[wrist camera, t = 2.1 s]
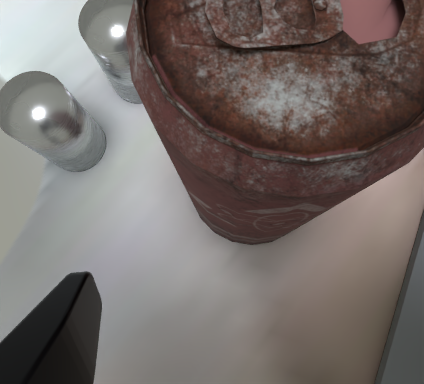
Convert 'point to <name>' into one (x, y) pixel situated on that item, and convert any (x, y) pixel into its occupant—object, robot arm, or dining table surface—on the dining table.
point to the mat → (407, 325)
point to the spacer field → (64, 101)
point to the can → (279, 102)
